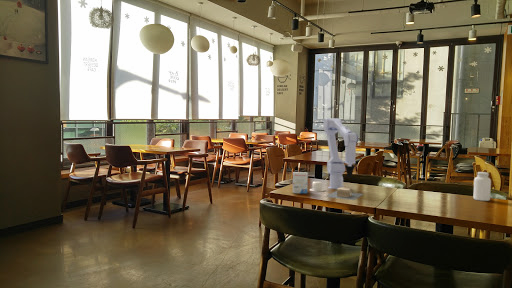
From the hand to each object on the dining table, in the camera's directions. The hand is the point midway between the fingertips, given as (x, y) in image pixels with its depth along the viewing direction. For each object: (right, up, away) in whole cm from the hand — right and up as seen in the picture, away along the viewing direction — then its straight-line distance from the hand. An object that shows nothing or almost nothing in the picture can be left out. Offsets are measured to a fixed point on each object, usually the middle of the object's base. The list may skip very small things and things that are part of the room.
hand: (349, 177), depth 222 cm
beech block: (-3, -7, -5) cm, 9 cm away
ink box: (-28, -9, +2) cm, 30 cm away
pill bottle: (+70, -12, -10) cm, 72 cm away
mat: (-4, -10, -6) cm, 12 cm away
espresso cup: (-17, -9, +9) cm, 21 cm away
